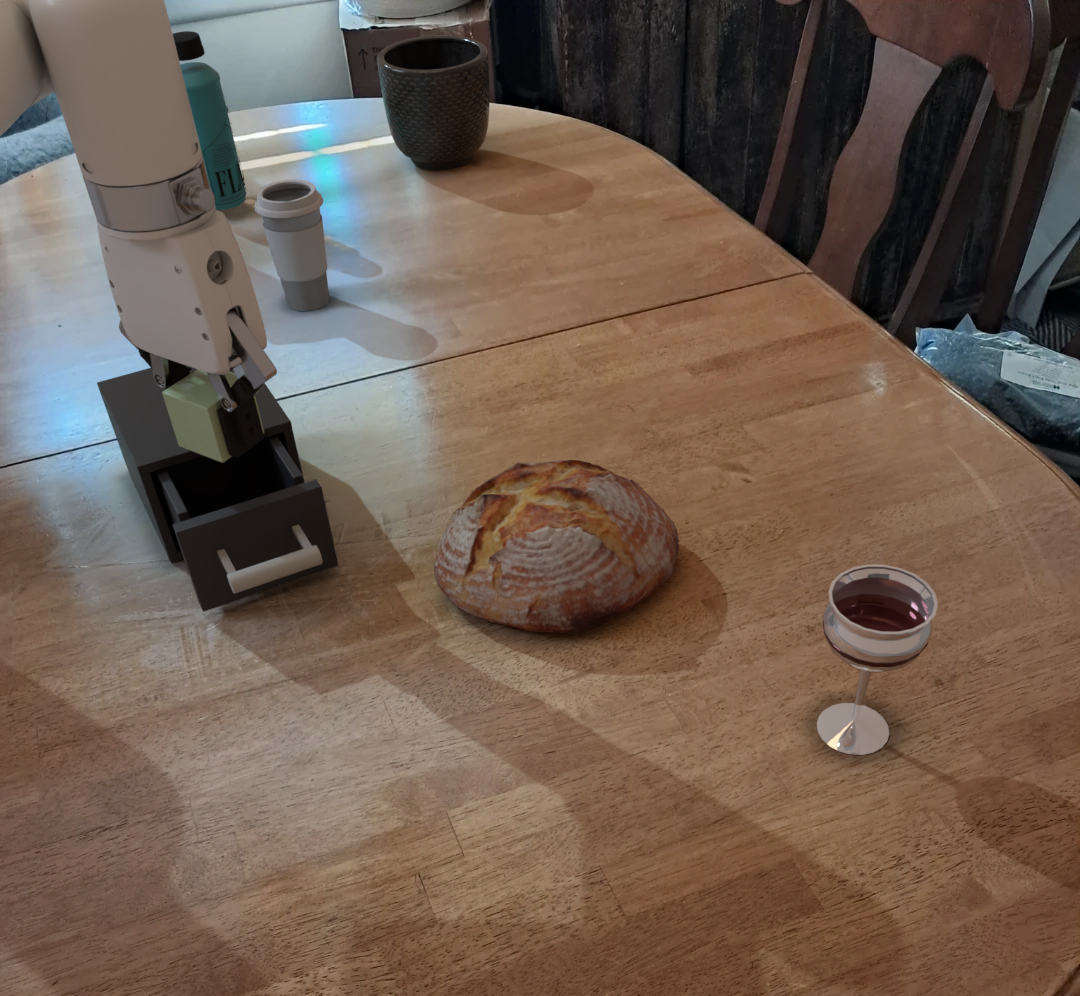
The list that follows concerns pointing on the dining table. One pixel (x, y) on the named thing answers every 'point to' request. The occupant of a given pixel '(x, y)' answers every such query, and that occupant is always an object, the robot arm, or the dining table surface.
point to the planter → (436, 98)
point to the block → (198, 415)
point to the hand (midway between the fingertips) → (220, 435)
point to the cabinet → (167, 439)
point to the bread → (555, 547)
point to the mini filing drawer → (246, 522)
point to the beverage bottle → (211, 123)
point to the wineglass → (872, 644)
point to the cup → (296, 241)
